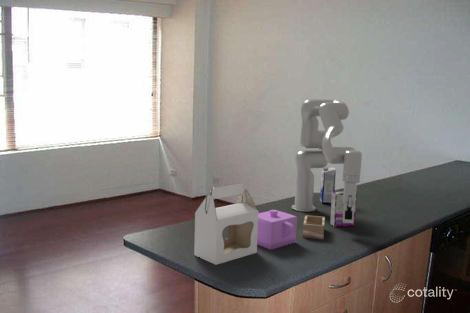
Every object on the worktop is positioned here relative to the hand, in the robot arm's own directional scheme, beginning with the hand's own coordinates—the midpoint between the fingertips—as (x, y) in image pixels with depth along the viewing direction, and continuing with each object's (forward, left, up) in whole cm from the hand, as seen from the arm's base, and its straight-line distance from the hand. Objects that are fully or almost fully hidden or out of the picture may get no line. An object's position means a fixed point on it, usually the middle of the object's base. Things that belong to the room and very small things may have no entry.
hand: (348, 217), depth 231 cm
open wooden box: (+1, -15, -8) cm, 17 cm away
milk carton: (-58, -10, -9) cm, 59 cm away
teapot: (+18, -32, -9) cm, 38 cm away
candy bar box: (-16, -2, -9) cm, 18 cm away
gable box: (+38, -48, -9) cm, 62 cm away
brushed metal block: (0, 0, -2) cm, 2 cm away
